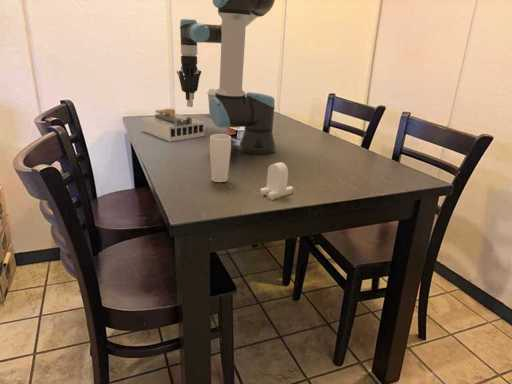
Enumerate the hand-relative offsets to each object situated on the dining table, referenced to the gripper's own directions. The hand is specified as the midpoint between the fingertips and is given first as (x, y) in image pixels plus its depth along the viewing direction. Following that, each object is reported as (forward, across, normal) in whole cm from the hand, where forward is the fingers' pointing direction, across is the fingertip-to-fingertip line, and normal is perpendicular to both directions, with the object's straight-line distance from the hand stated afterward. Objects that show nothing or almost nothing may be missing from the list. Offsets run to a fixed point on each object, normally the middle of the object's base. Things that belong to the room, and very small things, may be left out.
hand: (189, 106), depth 188 cm
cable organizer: (+13, +30, +83) cm, 89 cm away
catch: (+4, +13, -2) cm, 14 cm away
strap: (+5, +15, +5) cm, 16 cm away
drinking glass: (+13, +37, +64) cm, 75 cm away
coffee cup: (+10, -30, -16) cm, 35 cm away
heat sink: (+11, +13, +4) cm, 18 cm away
